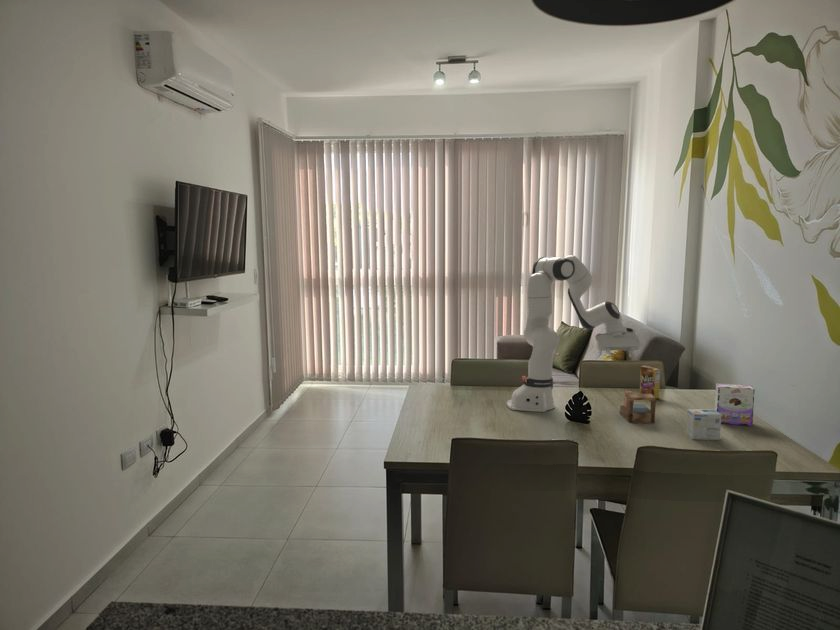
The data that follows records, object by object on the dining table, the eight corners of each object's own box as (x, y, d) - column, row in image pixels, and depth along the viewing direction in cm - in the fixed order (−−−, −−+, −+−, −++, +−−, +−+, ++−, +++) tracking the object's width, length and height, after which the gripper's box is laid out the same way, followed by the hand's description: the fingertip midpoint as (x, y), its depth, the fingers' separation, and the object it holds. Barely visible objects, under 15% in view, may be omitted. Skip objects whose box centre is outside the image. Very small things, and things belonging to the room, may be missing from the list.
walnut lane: (628, 422, 234) (629, 397, 232) (619, 413, 246) (620, 389, 244) (654, 422, 233) (655, 397, 232) (644, 413, 245) (645, 390, 244)
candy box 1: (638, 395, 275) (640, 365, 273) (644, 394, 277) (646, 365, 275) (653, 399, 268) (655, 369, 266) (659, 398, 270) (661, 368, 268)
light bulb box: (713, 434, 219) (714, 408, 217) (720, 440, 212) (722, 414, 211) (685, 433, 220) (687, 408, 218) (692, 439, 213) (693, 413, 212)
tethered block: (633, 421, 236) (634, 401, 235) (620, 409, 252) (621, 390, 251) (647, 421, 236) (648, 401, 234) (633, 409, 252) (634, 390, 251)
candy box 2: (749, 422, 233) (751, 385, 231) (752, 426, 228) (755, 388, 226) (713, 418, 238) (715, 382, 236) (715, 423, 232) (718, 386, 230)
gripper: (595, 330, 267) (601, 353, 258) (638, 329, 266) (644, 352, 257) (593, 337, 272) (598, 360, 263) (634, 336, 271) (641, 359, 262)
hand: (621, 356), depth 260 cm, fingers open, 8 cm apart
